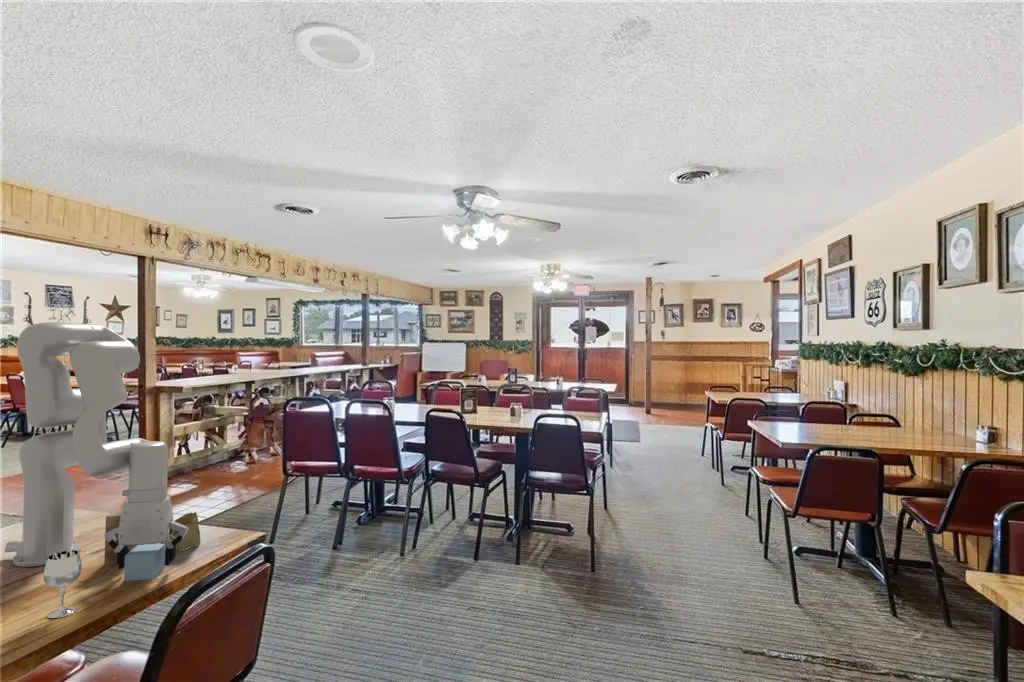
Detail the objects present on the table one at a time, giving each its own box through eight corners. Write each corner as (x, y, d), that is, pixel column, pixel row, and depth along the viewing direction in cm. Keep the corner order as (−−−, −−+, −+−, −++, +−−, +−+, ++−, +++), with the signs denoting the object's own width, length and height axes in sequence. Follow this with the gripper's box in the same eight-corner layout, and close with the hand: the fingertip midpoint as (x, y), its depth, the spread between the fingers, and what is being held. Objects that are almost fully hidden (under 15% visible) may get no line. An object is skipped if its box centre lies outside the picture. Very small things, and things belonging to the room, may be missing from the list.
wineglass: (47, 609, 102) (49, 552, 102) (83, 603, 105) (85, 547, 105) (37, 624, 97) (39, 563, 97) (75, 616, 100) (77, 557, 100)
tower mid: (105, 540, 122) (105, 516, 122) (118, 531, 128) (119, 508, 128) (132, 539, 124) (133, 515, 124) (144, 530, 130) (145, 507, 130)
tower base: (104, 564, 122) (105, 540, 122) (117, 554, 128) (118, 531, 128) (131, 562, 124) (132, 539, 124) (143, 552, 130) (144, 530, 130)
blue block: (124, 581, 115) (124, 555, 115) (137, 569, 121) (138, 545, 121) (153, 579, 116) (154, 553, 116) (164, 567, 122) (165, 543, 122)
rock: (153, 554, 124) (199, 541, 129) (151, 521, 128) (196, 510, 133) (159, 565, 132) (203, 552, 137) (157, 533, 136) (200, 522, 141)
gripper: (97, 500, 113) (95, 575, 113) (181, 496, 117) (180, 568, 117) (115, 491, 120) (114, 561, 120) (194, 487, 124) (193, 555, 124)
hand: (146, 565), depth 118 cm, fingers open, 9 cm apart
